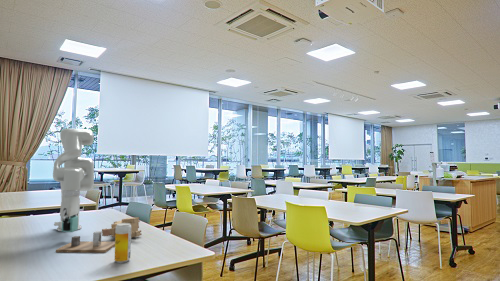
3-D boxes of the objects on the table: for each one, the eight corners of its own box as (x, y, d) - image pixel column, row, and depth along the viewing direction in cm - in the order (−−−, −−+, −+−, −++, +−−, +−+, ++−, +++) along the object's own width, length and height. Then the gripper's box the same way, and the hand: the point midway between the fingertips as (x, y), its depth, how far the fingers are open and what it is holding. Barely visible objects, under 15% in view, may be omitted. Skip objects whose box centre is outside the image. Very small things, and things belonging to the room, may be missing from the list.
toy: (148, 214, 174) (119, 217, 181) (122, 221, 156) (92, 224, 162) (149, 232, 173) (121, 234, 180) (124, 241, 155) (93, 243, 161)
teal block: (61, 231, 156) (62, 218, 156) (67, 228, 161) (68, 216, 162) (72, 232, 156) (72, 218, 156) (77, 229, 162) (78, 216, 162)
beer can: (117, 258, 132) (118, 222, 133) (132, 258, 132) (133, 222, 133) (112, 263, 126) (113, 225, 127) (127, 263, 126) (128, 225, 127)
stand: (55, 252, 140) (56, 240, 140) (72, 243, 154) (73, 233, 154) (105, 252, 140) (105, 240, 140) (117, 244, 154) (118, 233, 154)
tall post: (92, 246, 146) (93, 232, 146) (95, 244, 148) (96, 231, 148) (98, 246, 146) (98, 232, 146) (101, 244, 148) (101, 231, 149)
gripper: (73, 190, 168) (71, 224, 167) (53, 195, 151) (52, 233, 150) (87, 191, 168) (85, 224, 168) (69, 196, 151) (67, 234, 150)
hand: (69, 228), depth 159 cm, fingers closed on teal block, 5 cm apart
